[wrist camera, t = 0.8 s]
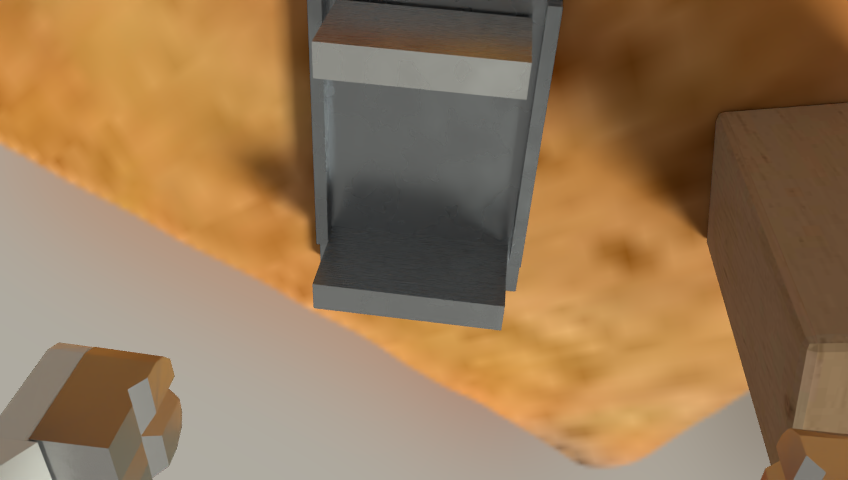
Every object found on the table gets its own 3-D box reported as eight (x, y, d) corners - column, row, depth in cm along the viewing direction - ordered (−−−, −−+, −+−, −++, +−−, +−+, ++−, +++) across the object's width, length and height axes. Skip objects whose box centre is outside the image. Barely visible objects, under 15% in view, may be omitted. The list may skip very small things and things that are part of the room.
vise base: (315, -48, 44) (279, -1, 38) (564, -25, 43) (569, 26, 37) (324, 258, 57) (299, 328, 51) (515, 280, 56) (513, 354, 50)
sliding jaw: (336, -1, 44) (311, 41, 39) (532, 17, 43) (531, 63, 38) (336, 33, 45) (312, 78, 40) (527, 51, 44) (526, 99, 40)
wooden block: (705, 243, 52) (777, 498, 37) (715, 109, 47) (805, 343, 31) (866, 235, 51) (1016, 500, 35) (897, 95, 45) (1094, 336, 29)
